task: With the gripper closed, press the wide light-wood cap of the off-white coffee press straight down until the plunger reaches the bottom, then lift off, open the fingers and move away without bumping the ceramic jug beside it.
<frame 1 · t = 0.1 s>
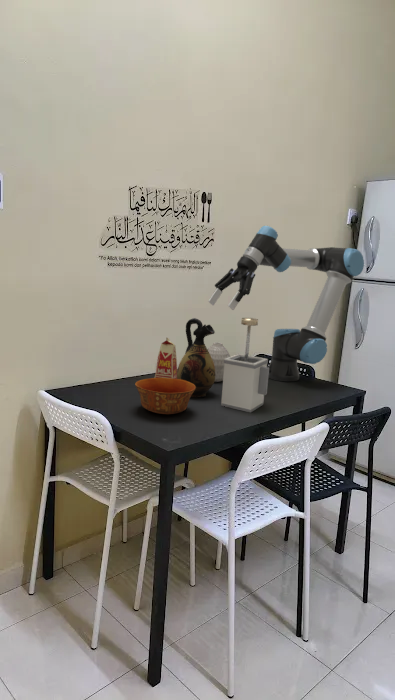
hand: (220, 305, 198), 36 cm above the table, tool tilted 35°, fingers open, 13 cm apart
plunger: (247, 347, 191), point 22 cm above the table, slide at 10.0 cm
milk carton: (165, 383, 220), on the table
bowl: (164, 411, 183), on the table
vase: (215, 380, 230), on the table
ceramic jug: (193, 393, 207), on the table
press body: (242, 405, 195), on the table
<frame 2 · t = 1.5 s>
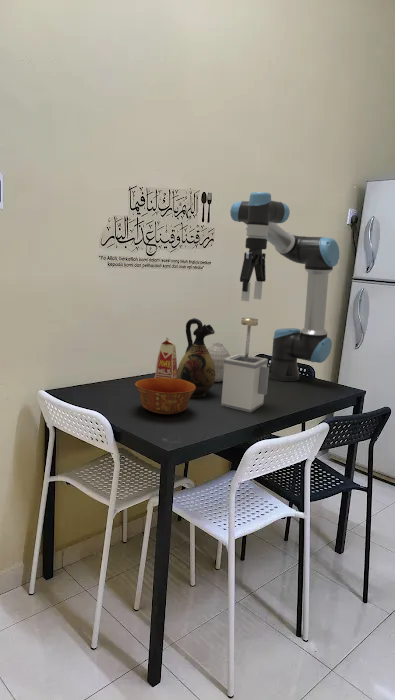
hand: (251, 299, 187), 40 cm above the table, tool pointing down, fingers open, 10 cm apart
nothing on the table moved.
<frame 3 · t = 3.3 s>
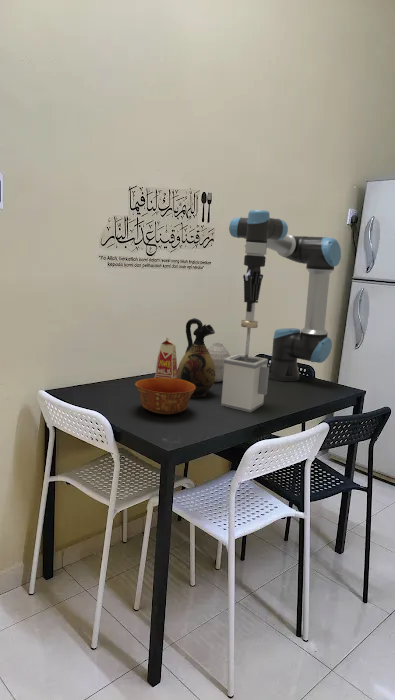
hand: (249, 320, 189), 32 cm above the table, tool pointing down, fingers closed
plunger: (247, 349, 191), point 21 cm above the table, slide at 9.2 cm, touching gripper
everything else where it was.
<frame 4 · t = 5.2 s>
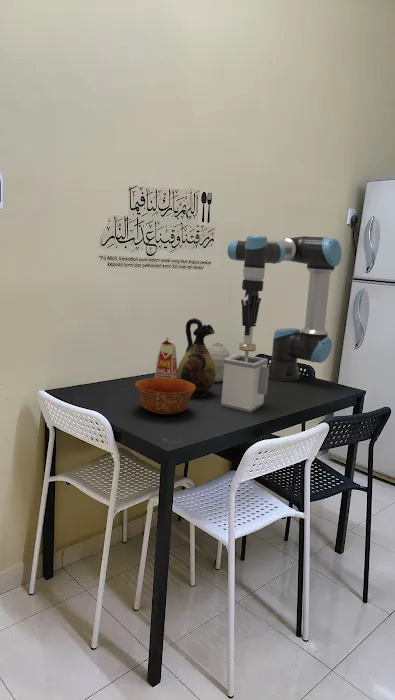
hand: (247, 343, 191), 24 cm above the table, tool pointing down, fingers closed
plunger: (245, 372, 193), point 13 cm above the table, slide at 0.5 cm, touching gripper
everything else where it was.
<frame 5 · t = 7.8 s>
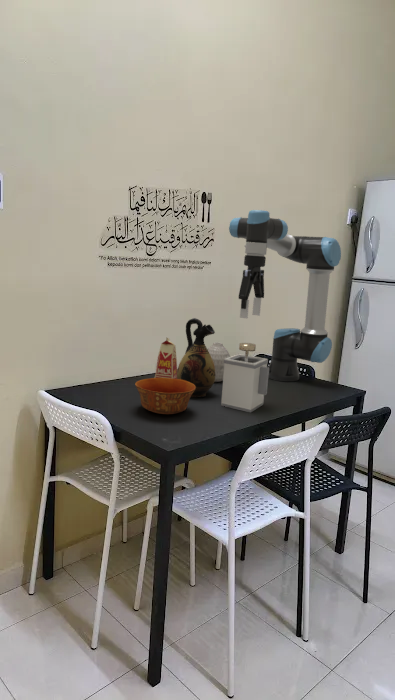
hand: (250, 316, 189), 34 cm above the table, tool pointing down, fingers open, 10 cm apart
plunger: (245, 372, 193), point 13 cm above the table, slide at 0.5 cm
everything else where it was.
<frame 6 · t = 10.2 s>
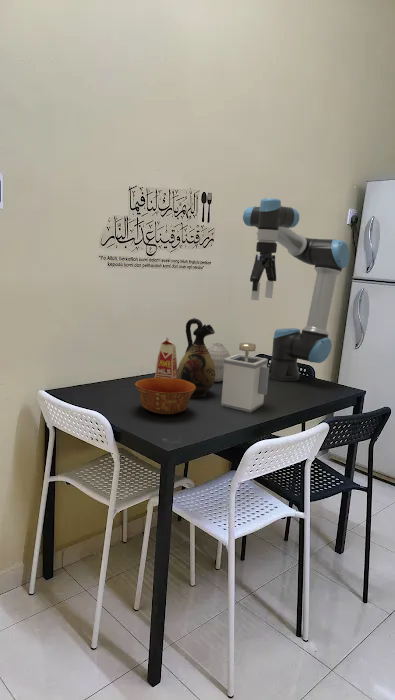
hand: (261, 298, 196), 40 cm above the table, tool pointing down, fingers open, 13 cm apart
nothing on the table moved.
at the end: plunger slide at 0.5 cm; ceramic jug moved 0.2 cm from its start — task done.
